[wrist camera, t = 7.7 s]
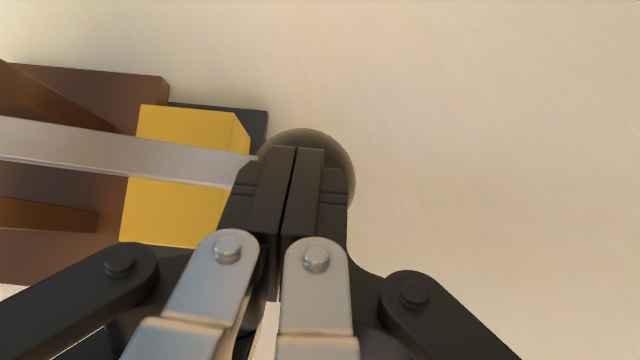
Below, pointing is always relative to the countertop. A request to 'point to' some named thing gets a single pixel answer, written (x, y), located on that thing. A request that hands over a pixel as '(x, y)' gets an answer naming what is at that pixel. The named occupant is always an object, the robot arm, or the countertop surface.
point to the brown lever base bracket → (59, 183)
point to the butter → (180, 199)
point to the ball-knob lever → (150, 153)
